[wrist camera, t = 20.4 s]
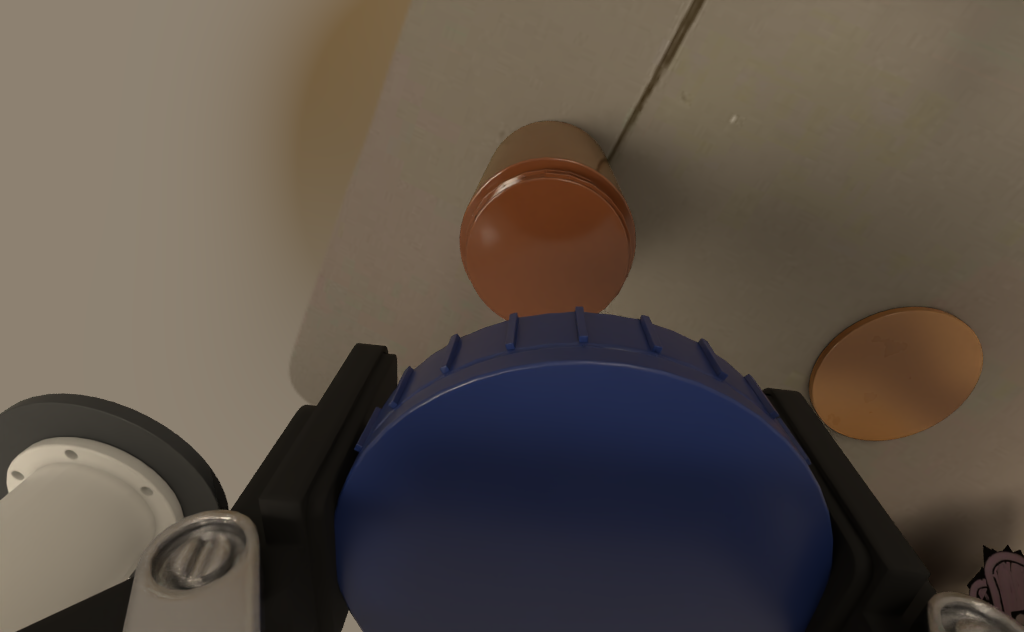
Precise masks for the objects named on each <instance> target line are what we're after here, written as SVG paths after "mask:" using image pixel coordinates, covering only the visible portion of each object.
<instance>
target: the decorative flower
mask: <svg viewBox="0 0 1024 632" xmlns="http://www.w3.org/2000/svg"><path fill="white" fill-rule="evenodd" d="M983 556H984V568H983V567H981V570H980V572H978V573H977V574H976V576H975V577H974V578H973V579H972V580H971V581H970V582H969V583H968V584H967V586H968V588H969V589H970V590H969V595H970V596H973V597H976V598H979V599H981V600H983V601H985V602H987V603H989V604H991V605H993V606H995V607H997V608H999V609H1001V610H1002V611H1004V612H1005V613H1007V614H1008V615H1009V616H1011V617H1012V618H1014V619H1015V620H1017V621H1018V622H1020V623H1021V624H1022V625H1023V626H1024V556H1023V554H1022V552H1021V550H1018V551H1015V552H1012V550H1011V549H1010V547H1009V545H1007V546H1006V547H1005V549H1004V550H1003V551H999V552H997V551H995V550H994V549H992V550H991V549H989V548H987V547H986V546H984V545H983Z"/></svg>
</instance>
